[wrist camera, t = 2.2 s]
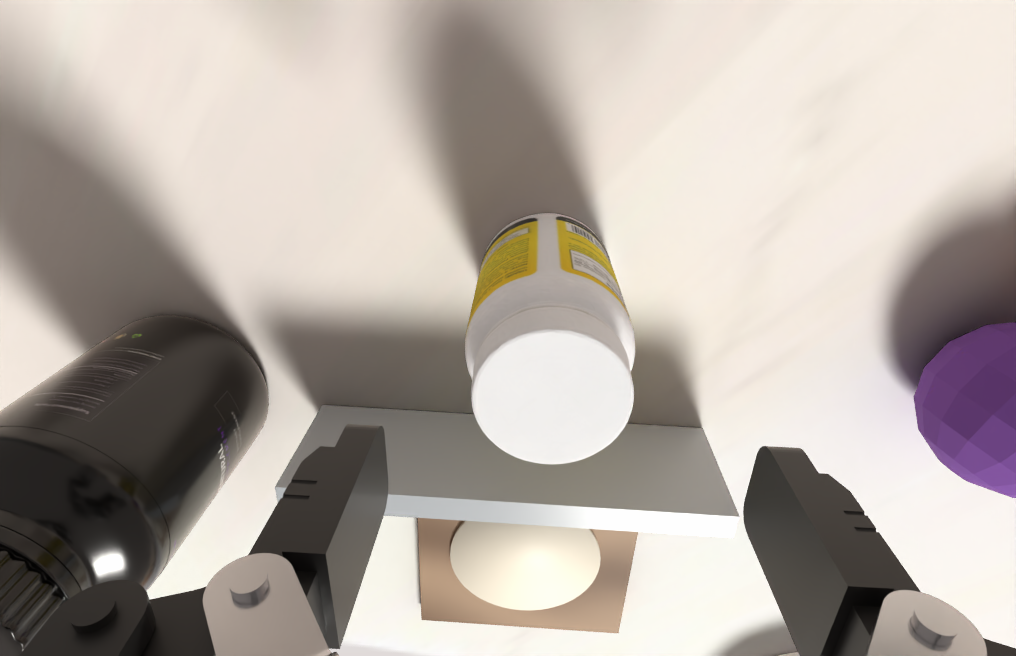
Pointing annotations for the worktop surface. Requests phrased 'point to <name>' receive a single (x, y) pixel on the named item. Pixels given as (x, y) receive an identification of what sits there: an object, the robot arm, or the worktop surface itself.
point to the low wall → (538, 476)
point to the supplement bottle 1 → (118, 462)
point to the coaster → (790, 654)
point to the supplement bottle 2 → (549, 342)
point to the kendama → (973, 407)
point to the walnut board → (524, 574)
